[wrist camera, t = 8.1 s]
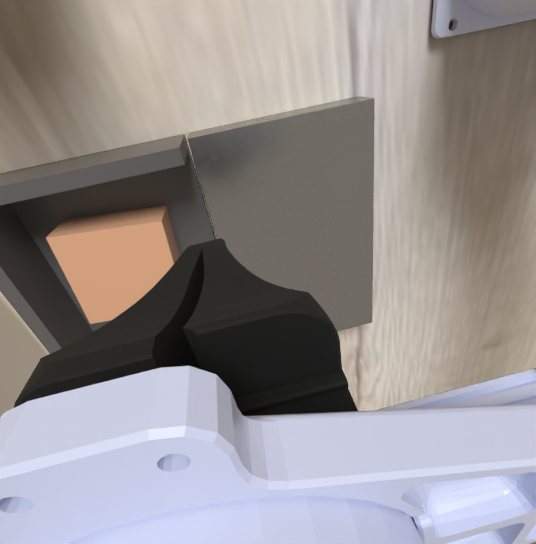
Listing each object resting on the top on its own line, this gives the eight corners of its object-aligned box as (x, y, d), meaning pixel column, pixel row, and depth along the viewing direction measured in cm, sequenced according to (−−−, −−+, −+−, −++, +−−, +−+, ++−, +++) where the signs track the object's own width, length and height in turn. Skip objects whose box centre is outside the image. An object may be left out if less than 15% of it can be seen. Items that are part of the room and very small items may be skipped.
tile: (166, 205, 19) (161, 221, 17) (188, 285, 23) (186, 307, 20) (63, 219, 19) (45, 238, 17) (101, 300, 22) (90, 324, 20)
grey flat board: (358, 96, 18) (374, 98, 17) (361, 307, 27) (372, 322, 25) (189, 132, 18) (187, 138, 16) (247, 335, 27) (250, 352, 25)
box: (184, 134, 18) (179, 147, 15) (244, 336, 27) (249, 373, 23) (-18, 177, 17) (-71, 201, 14) (111, 369, 26) (97, 412, 23)
